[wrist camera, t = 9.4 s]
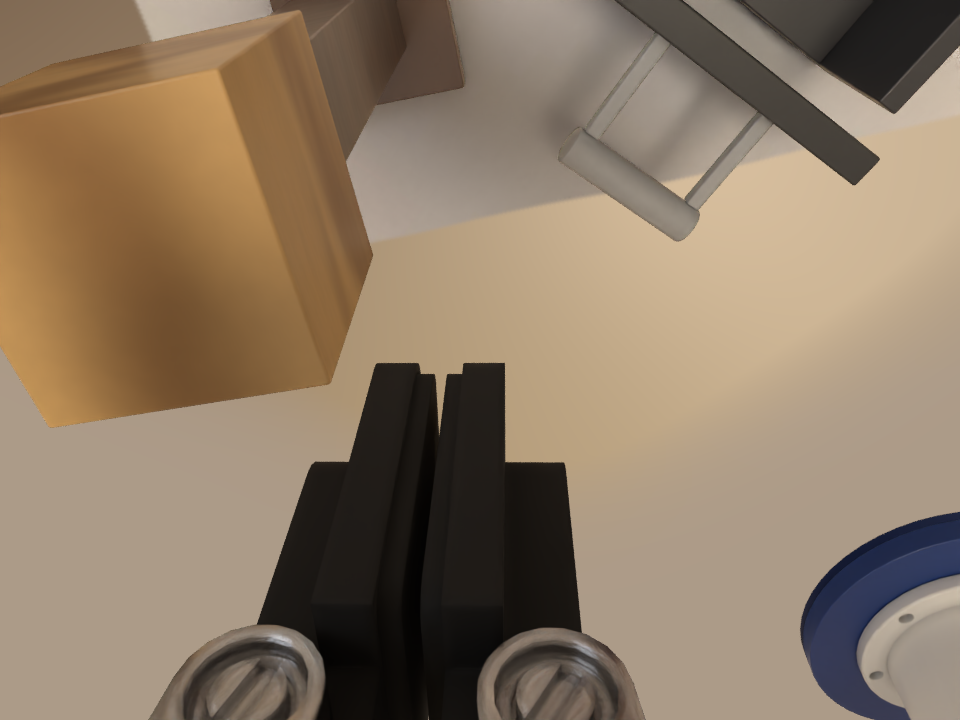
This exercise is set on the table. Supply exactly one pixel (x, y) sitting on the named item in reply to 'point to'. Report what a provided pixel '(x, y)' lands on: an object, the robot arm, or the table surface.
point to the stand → (378, 54)
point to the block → (176, 225)
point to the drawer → (771, 88)
